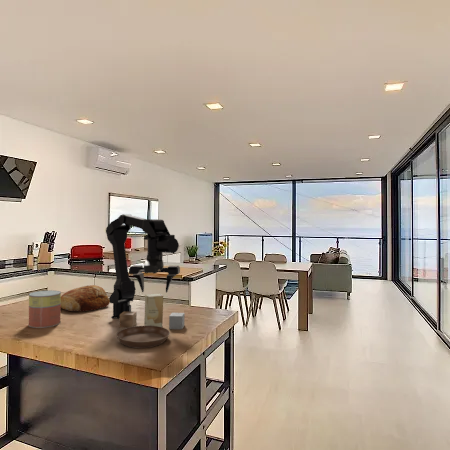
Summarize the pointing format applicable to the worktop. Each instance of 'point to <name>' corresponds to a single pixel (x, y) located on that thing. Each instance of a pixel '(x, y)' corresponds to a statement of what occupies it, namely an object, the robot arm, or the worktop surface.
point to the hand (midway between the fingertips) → (154, 292)
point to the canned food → (44, 309)
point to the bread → (85, 299)
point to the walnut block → (127, 319)
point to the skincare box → (153, 310)
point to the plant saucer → (142, 336)
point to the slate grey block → (176, 320)
